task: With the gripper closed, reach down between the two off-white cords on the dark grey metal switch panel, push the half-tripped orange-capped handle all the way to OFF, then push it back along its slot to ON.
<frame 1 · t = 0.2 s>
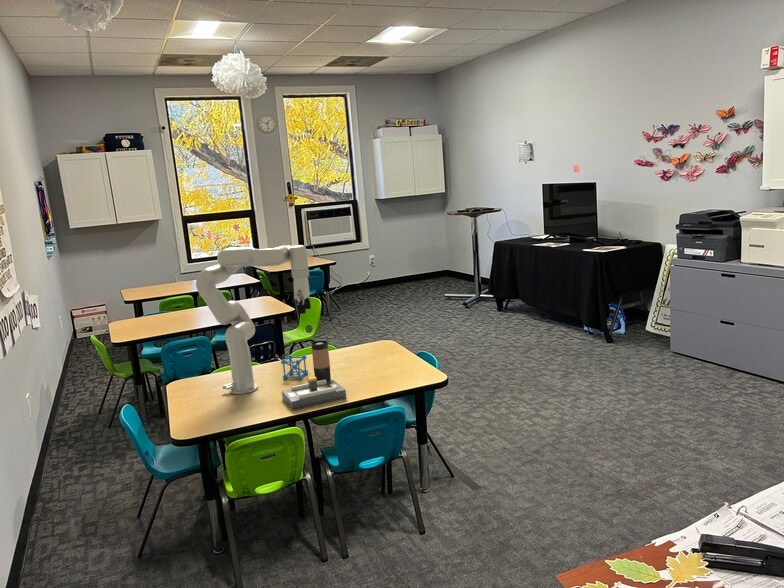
hand: (304, 311, 264), 37 cm above the table, tool pointing down, fingers open, 9 cm apart
switch handle: (312, 383, 257), point 7 cm above the table, slide at 5.0 cm
molecular structure: (295, 377, 291), on the table
travel mug: (323, 384, 277), on the table
switch panel: (314, 398, 258), on the table
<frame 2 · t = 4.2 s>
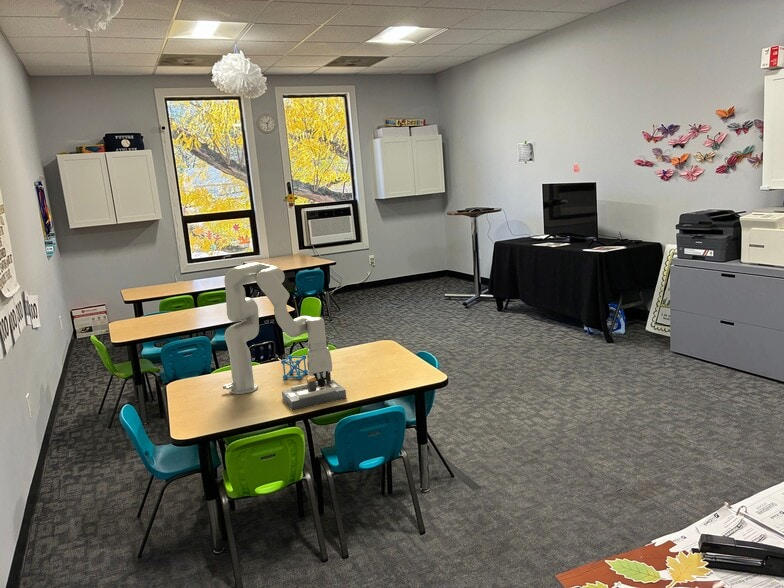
hand: (321, 386, 259), 5 cm above the table, tool pointing down, fingers closed
switch handle: (311, 383, 256), point 7 cm above the table, slide at 4.5 cm, touching gripper
everything else where it was.
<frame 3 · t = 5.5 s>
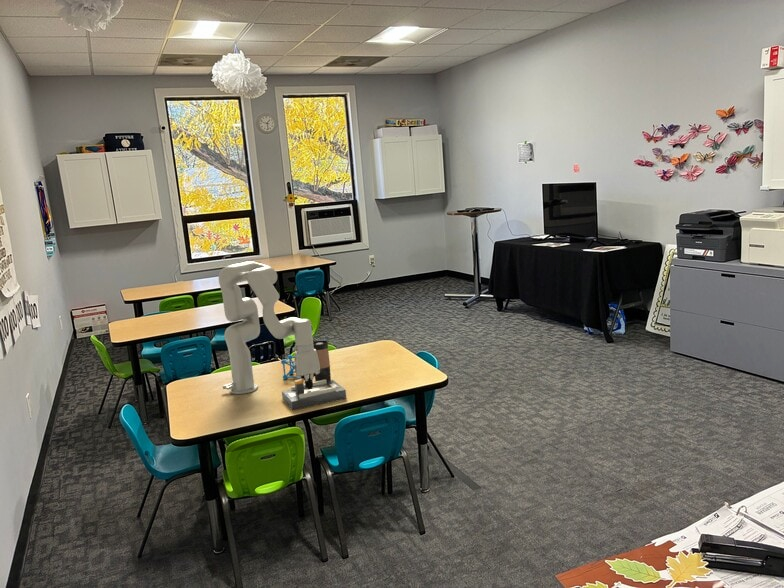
hand: (309, 388, 256), 5 cm above the table, tool pointing down, fingers closed
switch handle: (299, 386, 254), point 7 cm above the table, slide at -1.0 cm, touching gripper
everything else where it was.
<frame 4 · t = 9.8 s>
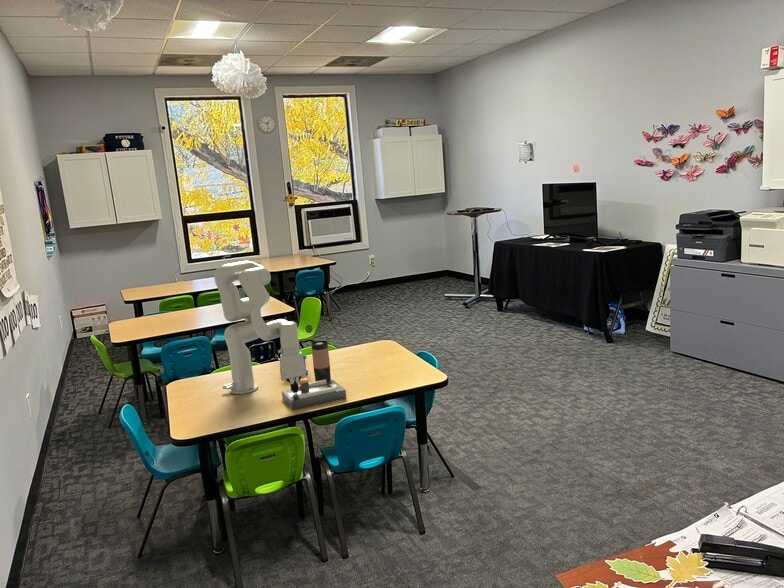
hand: (295, 391, 254), 5 cm above the table, tool pointing down, fingers closed
switch handle: (304, 385, 255), point 7 cm above the table, slide at 1.3 cm, touching gripper
everything else where it was.
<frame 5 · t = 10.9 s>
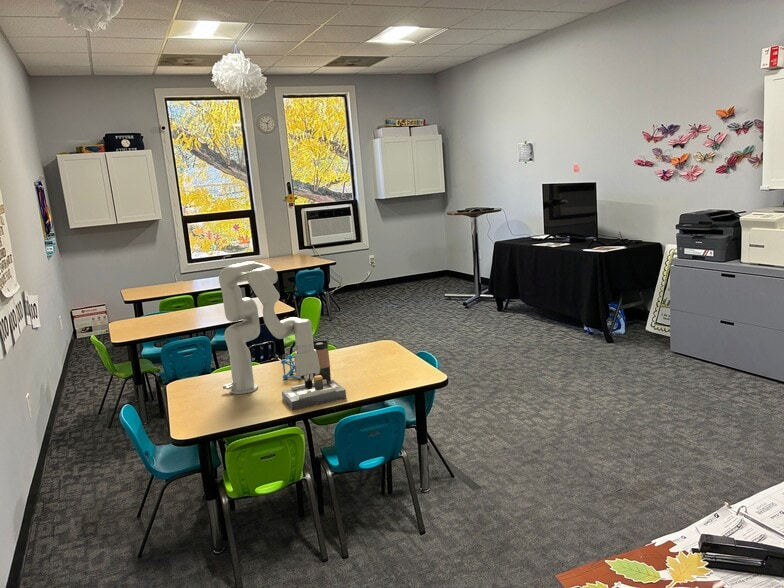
hand: (309, 388, 256), 5 cm above the table, tool pointing down, fingers closed
switch handle: (318, 382, 258), point 7 cm above the table, slide at 7.6 cm, touching gripper
everything else where it was.
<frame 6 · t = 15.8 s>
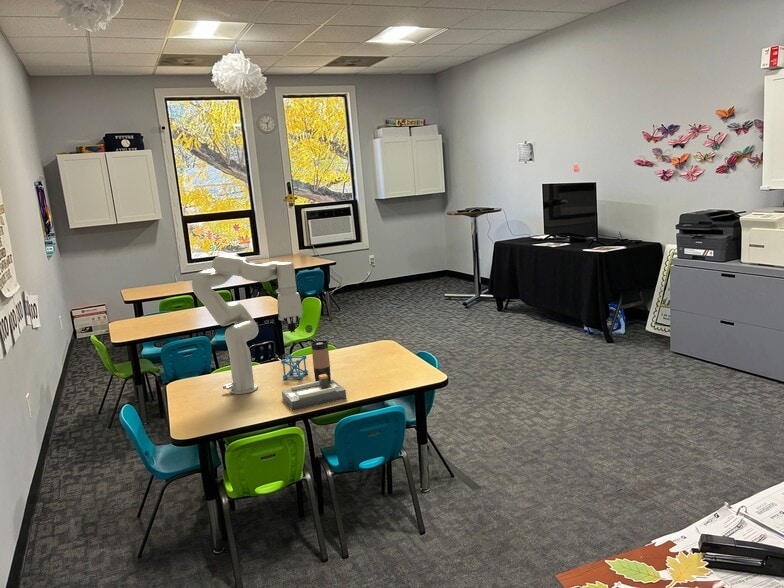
hand: (292, 331, 260), 29 cm above the table, tool pointing down, fingers closed
switch handle: (323, 381, 259), point 7 cm above the table, slide at 10.1 cm
everything else where it was.
at the end: switch handle slide at 10.1 cm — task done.
